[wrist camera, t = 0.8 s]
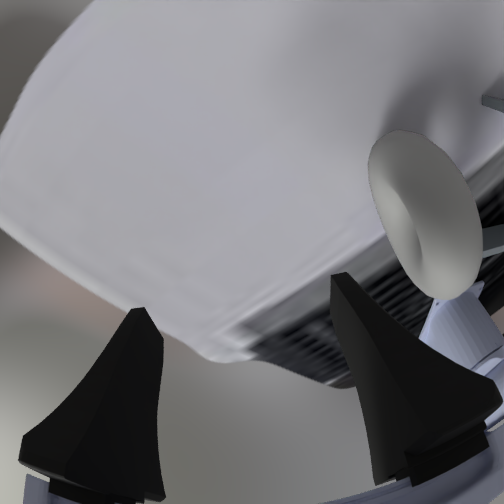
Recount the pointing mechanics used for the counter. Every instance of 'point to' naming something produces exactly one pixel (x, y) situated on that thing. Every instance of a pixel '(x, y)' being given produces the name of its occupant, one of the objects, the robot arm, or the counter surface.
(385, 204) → the donut
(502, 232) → the bracket
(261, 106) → the counter surface
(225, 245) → the counter surface
